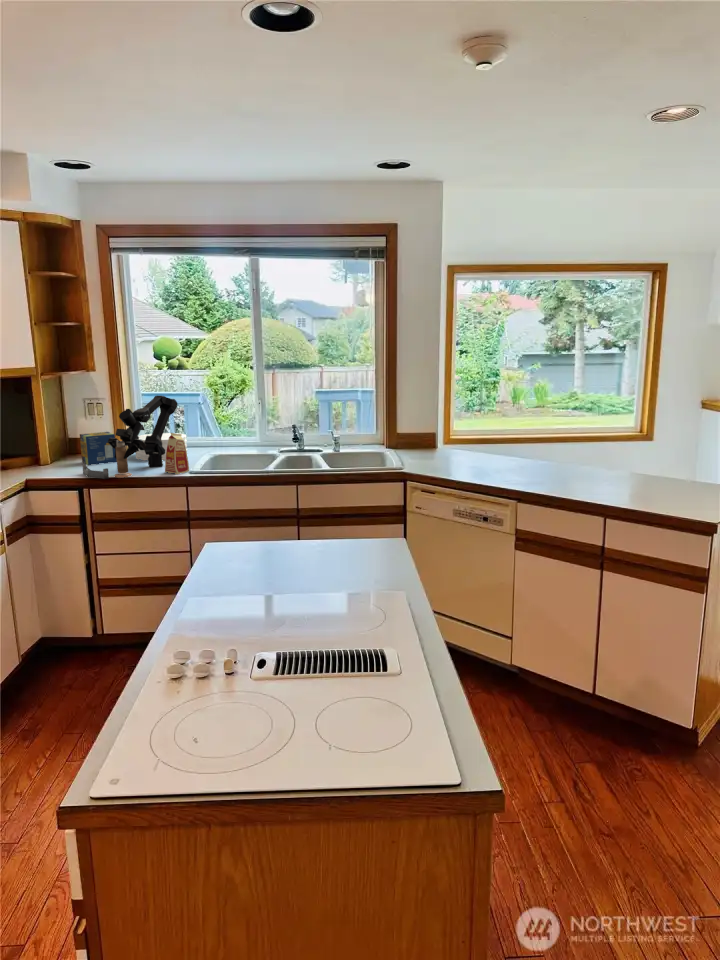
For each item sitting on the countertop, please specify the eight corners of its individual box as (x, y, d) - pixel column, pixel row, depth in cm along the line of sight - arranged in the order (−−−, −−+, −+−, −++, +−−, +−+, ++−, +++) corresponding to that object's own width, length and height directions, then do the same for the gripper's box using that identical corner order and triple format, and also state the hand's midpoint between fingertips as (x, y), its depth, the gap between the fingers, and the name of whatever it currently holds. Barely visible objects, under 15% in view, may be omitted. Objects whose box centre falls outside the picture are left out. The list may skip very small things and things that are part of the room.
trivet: (133, 474, 312) (132, 472, 312) (130, 477, 304) (130, 475, 304) (115, 474, 310) (115, 473, 310) (113, 478, 303) (112, 476, 302)
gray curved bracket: (86, 473, 315) (85, 463, 314) (109, 478, 302) (108, 468, 301) (77, 474, 311) (76, 465, 310) (100, 480, 299) (99, 470, 298)
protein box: (81, 462, 342) (79, 434, 339) (111, 459, 352) (108, 431, 348) (87, 465, 334) (85, 436, 331) (117, 462, 344) (115, 433, 340)
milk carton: (177, 474, 311) (174, 433, 306) (164, 472, 316) (161, 432, 311) (191, 471, 318) (188, 431, 314) (178, 469, 323) (175, 430, 319)
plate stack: (157, 451, 378) (156, 432, 376) (197, 454, 368) (196, 434, 366) (124, 459, 353) (123, 438, 350) (166, 462, 343) (165, 441, 340)
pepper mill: (125, 470, 310) (123, 441, 307) (130, 472, 307) (127, 442, 304) (116, 472, 307) (113, 443, 304) (120, 473, 304) (117, 444, 300)
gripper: (108, 421, 308) (94, 447, 300) (140, 422, 303) (127, 449, 295) (120, 435, 317) (107, 460, 309) (152, 436, 312) (139, 463, 304)
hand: (119, 458), depth 304 cm, fingers closed on pepper mill, 5 cm apart
